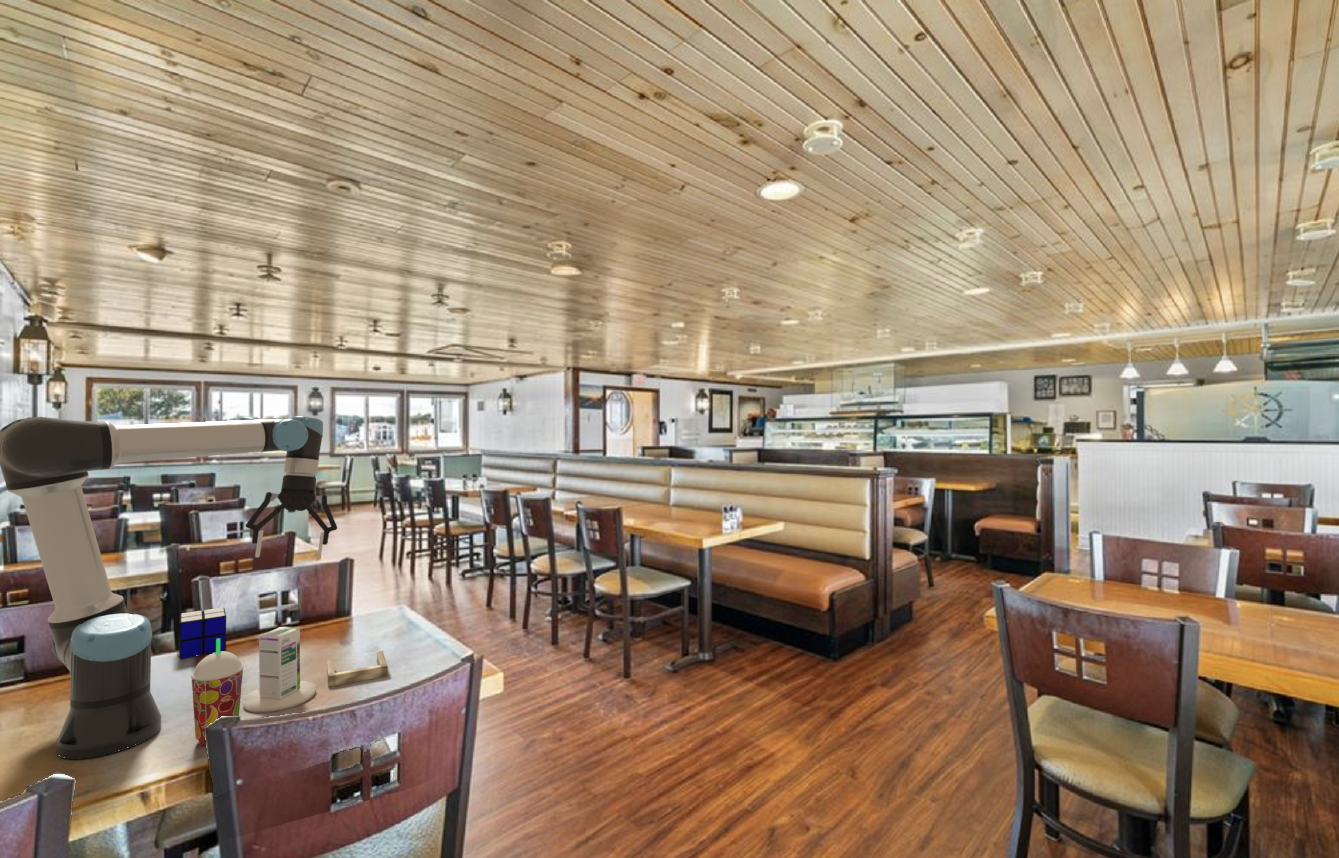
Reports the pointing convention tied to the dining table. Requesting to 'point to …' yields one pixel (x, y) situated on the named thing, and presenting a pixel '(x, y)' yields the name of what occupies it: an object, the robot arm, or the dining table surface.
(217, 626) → the puzzle cube
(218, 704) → the smoothie
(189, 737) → the dining table surface
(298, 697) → the ceramic plate
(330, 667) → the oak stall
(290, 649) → the syrup box
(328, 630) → the dining table surface
